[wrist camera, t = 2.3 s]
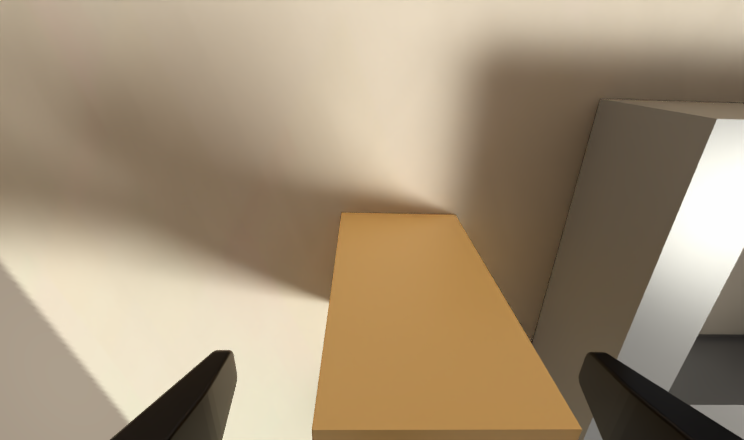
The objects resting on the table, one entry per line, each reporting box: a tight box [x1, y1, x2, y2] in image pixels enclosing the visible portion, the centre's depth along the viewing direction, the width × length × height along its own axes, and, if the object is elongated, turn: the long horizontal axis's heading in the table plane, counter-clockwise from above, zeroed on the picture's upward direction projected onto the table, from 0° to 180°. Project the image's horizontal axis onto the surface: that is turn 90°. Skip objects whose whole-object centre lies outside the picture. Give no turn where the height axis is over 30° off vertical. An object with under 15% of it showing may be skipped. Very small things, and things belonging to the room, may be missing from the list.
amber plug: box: [312, 212, 582, 440], centre depth 10 cm, size 4×4×8 cm
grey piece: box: [532, 99, 744, 440], centre depth 14 cm, size 22×10×4 cm, turn 178°
